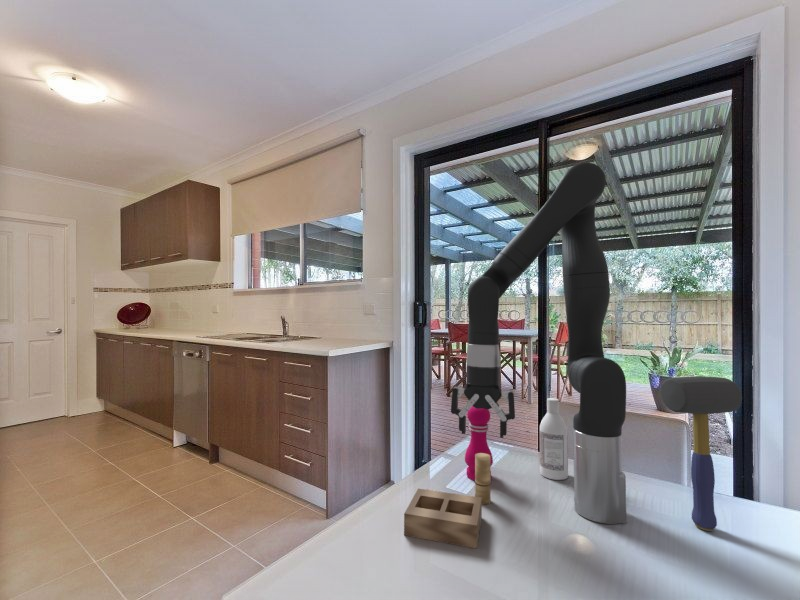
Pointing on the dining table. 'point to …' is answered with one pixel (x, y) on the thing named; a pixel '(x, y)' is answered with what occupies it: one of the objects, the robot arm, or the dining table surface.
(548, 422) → the bath foam
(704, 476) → the rubber mallet
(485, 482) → the peg
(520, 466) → the dining table surface
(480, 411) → the pepper mill
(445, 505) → the board
